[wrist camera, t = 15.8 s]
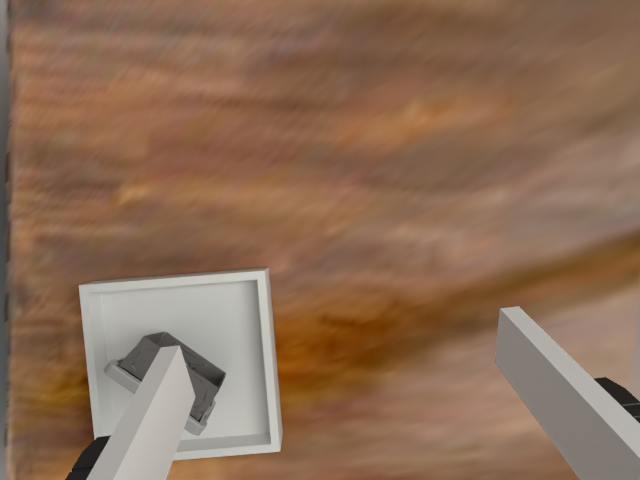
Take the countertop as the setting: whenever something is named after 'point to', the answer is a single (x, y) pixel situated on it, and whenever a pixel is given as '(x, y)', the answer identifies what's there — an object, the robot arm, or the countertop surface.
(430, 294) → the countertop surface
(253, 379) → the white square tray
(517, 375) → the robot arm
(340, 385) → the countertop surface
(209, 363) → the electrical switch
